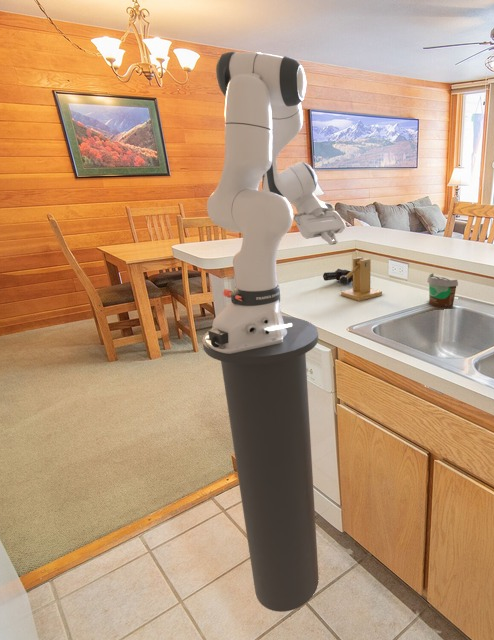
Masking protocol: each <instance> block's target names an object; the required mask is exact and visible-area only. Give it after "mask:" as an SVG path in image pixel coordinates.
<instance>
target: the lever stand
mask: <svg viewBox="0 0 494 640" xmlns="http://www.w3.org/2000/svg"><path fill="white" fill-rule="evenodd" d="M361 258H362V259H364V260H360V259H361ZM359 260H360V268H359V269H358V270H357V271H356V272H355V273H354V274H353V281H352V288H351V289H346V290H342V291H340V295H341V296H342V297H345V298H348V299H351V300H354V301H357V302H361V301H364V300H368V299H373V298H375V297H379V296H382V295H383V291H382V290H378V289H375V288H373V287H372V288H371V271H372V270H371V268H372V266H371V264H372V261H371V260H372V259H371V258H364V257H363V256H359V257H353V258H352V269H354V268H355V267H356V266H357V264H356V262H357V261H359Z"/></svg>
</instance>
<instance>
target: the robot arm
mask: <svg viewBox="0 0 494 640" xmlns="http://www.w3.org/2000/svg"><path fill="white" fill-rule="evenodd" d="M215 68H216V69H215V71H216V72H215V75H216V80H217V81H216V82H217V85H218V87H219V90H220V91H221V93H222V94H223V96H224V97H225V103H224V104H225V105H224V160H223V166H222V171H221V175H220V178H219V181H218V184H217V186H216V188H215V190H214V191H213V192H212V193H211V194H210V196H209V197H208V199H207V202H206V212H207V216H208V218H209V220H211V222H212V223H213V224H214V225H216V226H218V227H219V228H221V229H223V230H225V231H227V232H231V233H238V234H242V242H241V247H240V250H239V251H238V252H236V253H235V254H234V256H233V258H232V266H233V267H232V268H233V274H234V283H235V286H234V289H233V290H230V289H228V288H225V289H224V290H223V291H222V296H224V297H226V298H230V302H229V304H227V306H225V308H224V309H222V311H220V312H219V314H217V315H216V316H215V317H214V319H213V321H212V327H211V330H210V329H209V330H207V332H208V333H209V335H208V336H206V337H205V344H206V345H207V346H208V347H210V348H211V349H213V350H215V351H217V352H221V353H226V354H231V353H236V352H241V351H246V350H251V349H255V348H260V347H265V346H270V345H274V344H279V343H282V342H283V338H284V337H285V336H286V335H287V330H286V327H291V326H292V323H290V324H285V325H284V321H283V318H282V316H283V314H282V310H281V309H282V308H281V290H280V285H279V284H278V272H277V256H278V251H279V250H278V249H279V246H280V243H281V241H282V239H283V238H284V236H285V235H286V234H287V233H288V232H289V231H290V230H291V228H292V225H293V222H295V224H296V227H297V230H298V231H299V233H300V235H301V236H302V238H304V239H307V240H308V239H314V238H319V237H321V239H323V240H324V241H326V242H327V243H328V245H329V246H333V245H336V244H338V239H337V238H336V234H342V233H343V232H344V231H345V230H346V228H347V227H346V225H347V224H346V223H345V221H344V220H343V218H342V217H341V215H340V214H339V212H337V211H336V210H335V206H334V205H333V204H332V203H328V202H325V201H323V200H320V199H319V198H318V196H316V194H315V191H316V189H317V185H318V181H319V180H318V176H317V174H316V172H315V170H314V168H313V167H312V166H311V165H310V164H308V163H306V162H305V161H300V162H296V163H294V164H293V165H292V164H291V165H290V166H289V167H287V168H284V169H283V170H281V171H278V157H279V155H280V154H281V152H282V151H283V150H284V148H286V147H287V146H288V144H290V143H291V141H293V140H294V139H295V138H297V136H298V135H299V133H300V132H301V130H302V127H303V124H304V113H303V112H304V111H303V107H302V102H303V101H304V99H305V96H306V95H305V94H306V91H307V78H306V74H305V70H304V67H303V65H302V64H301V63H300V62H299V61H298V59H296V58H294V57H290V56H287V55H285V56H280V55H275V54H271V53H262V52H259V51H243V52H236V51H228V52H225V53H222V54H221V55H220V56H219V58H218V59H217V62H216V67H215ZM261 181H262V182H261ZM260 183H262V184H261V187H262V189H261V190H260V189H259V187H260ZM292 205H293V206H294V208H295V209H296V212H297V213H295V214H294V210H293V207H292Z"/></svg>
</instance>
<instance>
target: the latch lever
mask: <svg viewBox="0 0 494 640" xmlns="http://www.w3.org/2000/svg"><path fill="white" fill-rule="evenodd" d="M364 259H365V258H363V259H362V258H361V259H360V260H364ZM360 260H359V261H357V262H356V264H357V266H356V267H355V268H354V269H353V268H352V269H351V270H349V271H350V272H349V273H348V274H347V275H346V276H341V277H340V279H339V281H338V282H339V284H340V285H343V286H345V285H347V284H349V283H348V278H350V277H351V276H352V275H353V274H354V273H355V272H356V271H357V270H358V269H359V268H360Z"/></svg>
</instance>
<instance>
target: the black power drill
mask: <svg viewBox="0 0 494 640" xmlns="http://www.w3.org/2000/svg"><path fill="white" fill-rule="evenodd" d="M350 271H351V270H348V269H341V268H337V269H336V270H335V271H330V272H329V271H328V272H327V271H326V272H324V273H323V275H322V278H323V281H324V282H325V281H326V282H327V281H333V280H336V281H338V282H339V279H340V277H341V276H346V275H347V274H348V273H349V272H350ZM351 282H353V275H352V276H351V277H350V278H348V283H347V284H350V283H351Z"/></svg>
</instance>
